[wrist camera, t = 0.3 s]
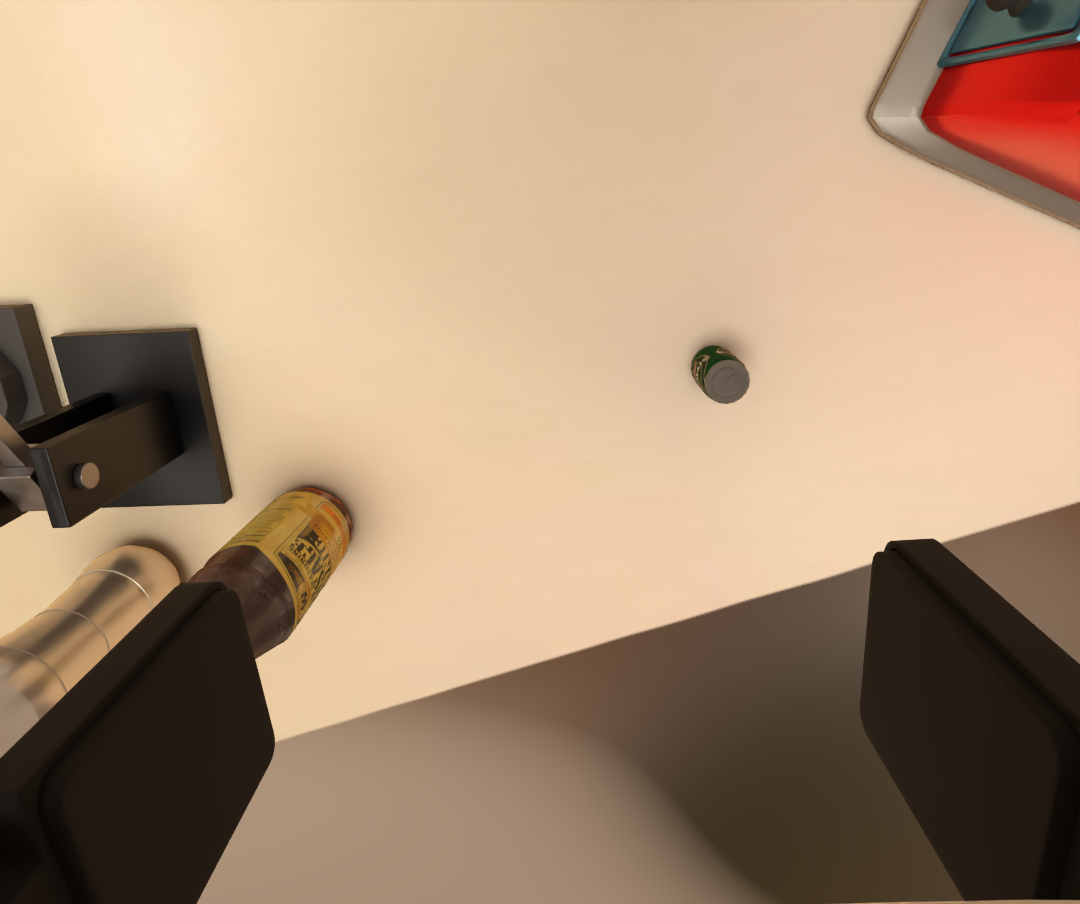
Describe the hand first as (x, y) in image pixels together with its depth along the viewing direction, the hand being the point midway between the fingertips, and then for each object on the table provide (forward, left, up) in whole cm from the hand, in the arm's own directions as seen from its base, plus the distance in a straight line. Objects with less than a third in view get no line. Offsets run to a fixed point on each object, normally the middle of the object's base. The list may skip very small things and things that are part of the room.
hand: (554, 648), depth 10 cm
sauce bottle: (+14, -18, -36) cm, 43 cm away
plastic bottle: (+18, -31, -36) cm, 51 cm away
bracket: (+6, -28, -36) cm, 46 cm away
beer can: (+4, +10, -36) cm, 38 cm away
